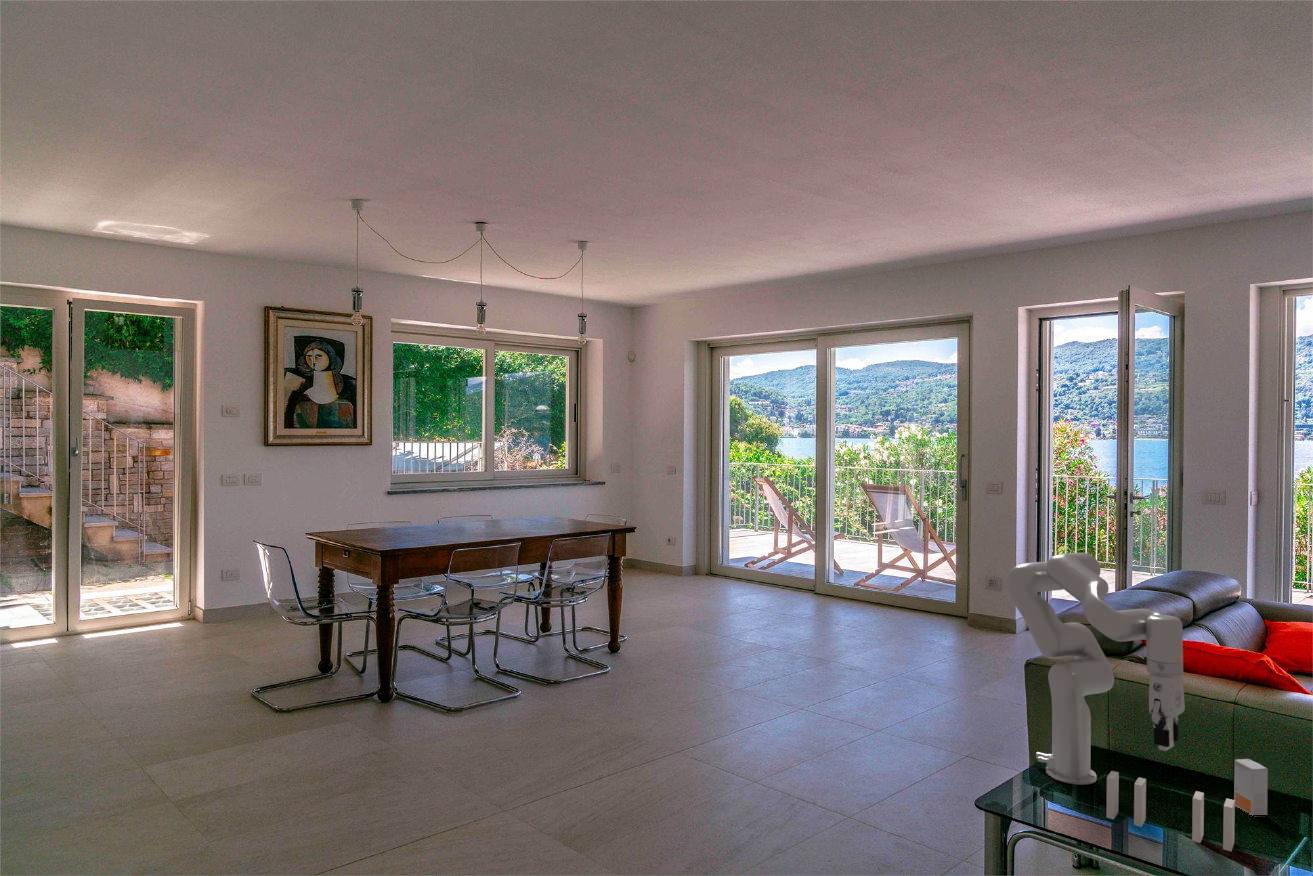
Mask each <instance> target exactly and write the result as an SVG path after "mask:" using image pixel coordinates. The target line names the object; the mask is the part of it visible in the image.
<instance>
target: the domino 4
mask: <svg viewBox="0 0 1313 876" xmlns="http://www.w3.org/2000/svg"><path fill="white" fill-rule="evenodd" d="M1204 806H1205V793H1204V792H1201V791H1197V790H1195V792H1194V795H1193V796H1192V813H1191V814H1192V821H1191V822H1192V827H1191V828H1192V830H1191V831H1192V832H1191V836H1192V837H1191V840H1192V842H1195V843H1199V844H1201V842H1202V840H1203V838H1204V832H1205V831H1204V830H1205V829H1204V825H1205V823H1204V818H1205V817H1204V816H1205V809H1204V808H1205V807H1204Z"/></svg>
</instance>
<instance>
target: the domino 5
mask: <svg viewBox="0 0 1313 876" xmlns="http://www.w3.org/2000/svg"><path fill="white" fill-rule="evenodd" d="M1235 810H1236V806H1235V800H1234V799H1232V798H1231V799H1230V798H1226V799H1225V801H1224V804H1223V827H1222V828H1223V829H1222V830H1223V831H1222V833H1223V836H1222V837H1223V839H1222V840H1223V841H1222V850H1224V851H1228V852H1231V853H1232V852H1233V851H1232V850H1233V848H1234V845H1235V825H1236V824H1235V821H1236V820H1235V817H1236V815H1235V814H1236V813H1235Z"/></svg>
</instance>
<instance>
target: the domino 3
mask: <svg viewBox="0 0 1313 876" xmlns="http://www.w3.org/2000/svg"><path fill="white" fill-rule="evenodd" d="M1160 716H1165V715H1164V714H1163V713H1160ZM1160 720H1162V721H1163V723H1164V719H1162V718H1160ZM1167 730H1169V742H1170V746H1169V747H1165V746H1160V745H1158V750H1160V751H1165V752H1167V751H1168V750H1170V749H1171V748H1173V747H1175V744H1174V743H1175V741H1173V719H1169V718H1168V729H1167Z"/></svg>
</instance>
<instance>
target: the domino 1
mask: <svg viewBox="0 0 1313 876" xmlns="http://www.w3.org/2000/svg"><path fill="white" fill-rule="evenodd" d="M1119 773H1120V772H1118V771H1114V770H1111V771H1110V772H1109V774H1107V777H1106V816H1105V817H1106V818H1108V819H1111V820H1115V818H1116V817H1117V815H1118V814H1119V792H1120V791H1119V790H1120V789H1119V788H1120V787H1119V785H1120V784H1119V783H1120V782H1119V780H1120V777H1119V776H1120V775H1119Z"/></svg>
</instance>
